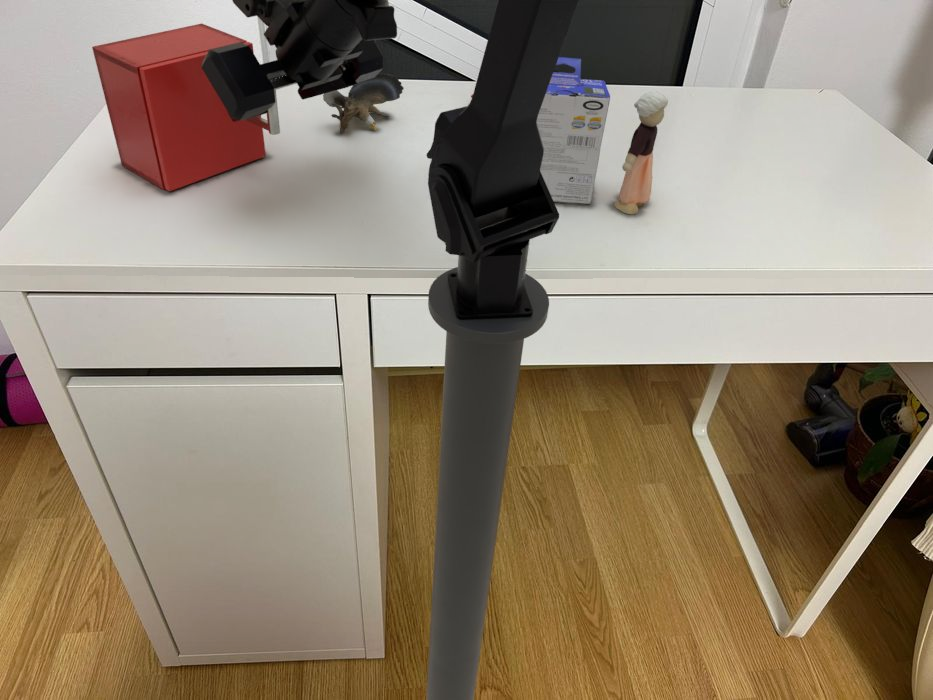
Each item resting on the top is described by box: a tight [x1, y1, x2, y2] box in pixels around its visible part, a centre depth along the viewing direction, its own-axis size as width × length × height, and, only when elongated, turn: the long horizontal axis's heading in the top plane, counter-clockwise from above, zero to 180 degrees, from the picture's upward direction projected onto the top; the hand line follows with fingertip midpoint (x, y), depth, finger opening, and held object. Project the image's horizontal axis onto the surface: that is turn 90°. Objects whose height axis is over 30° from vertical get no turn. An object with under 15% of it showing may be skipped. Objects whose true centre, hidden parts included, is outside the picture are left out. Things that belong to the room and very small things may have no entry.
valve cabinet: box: [91, 23, 248, 191], centre depth 81 cm, size 8×13×13 cm, turn 140°
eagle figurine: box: [322, 72, 404, 134], centre depth 94 cm, size 8×7×9 cm
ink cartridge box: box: [537, 56, 611, 205], centre depth 80 cm, size 10×6×14 cm, turn 89°
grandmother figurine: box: [613, 90, 669, 215], centre depth 79 cm, size 8×4×13 cm, turn 161°
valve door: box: [139, 41, 281, 192], centre depth 77 cm, size 6×13×13 cm, turn 140°
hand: (267, 105), depth 79 cm, fingers open, 9 cm apart
